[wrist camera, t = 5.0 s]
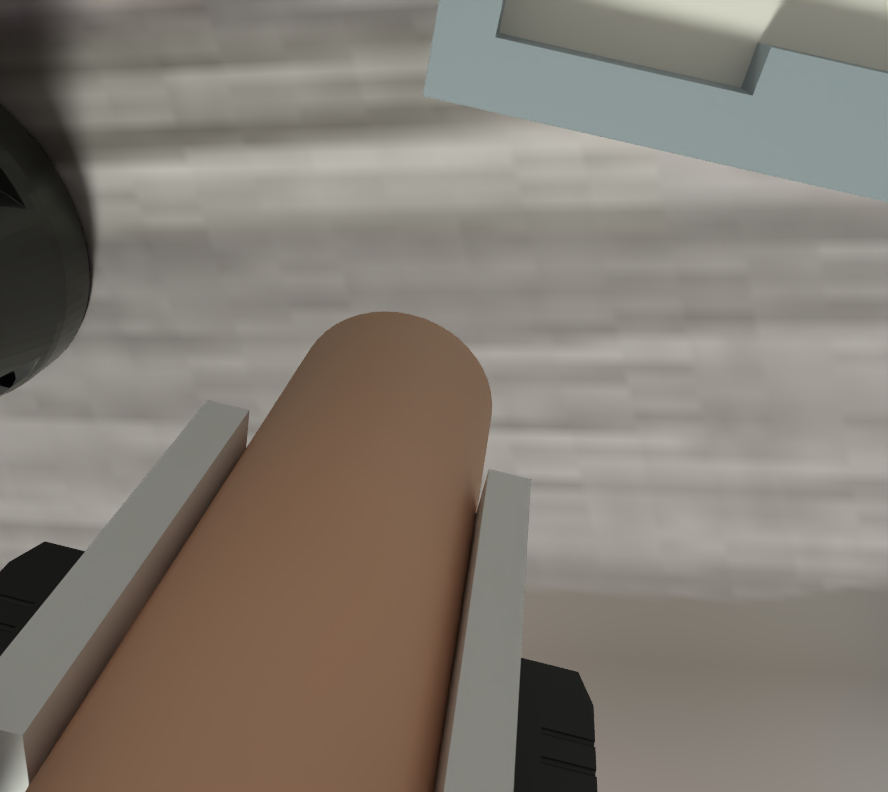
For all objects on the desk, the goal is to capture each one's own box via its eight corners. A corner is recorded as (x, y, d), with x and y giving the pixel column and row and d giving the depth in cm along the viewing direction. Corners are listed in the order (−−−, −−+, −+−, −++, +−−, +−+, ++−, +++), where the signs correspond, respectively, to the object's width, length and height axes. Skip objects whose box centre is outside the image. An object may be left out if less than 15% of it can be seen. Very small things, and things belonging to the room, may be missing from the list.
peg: (290, 457, 18) (-138, 1243, 7) (310, 290, 16) (-274, 1056, 5) (468, 499, 18) (322, 1364, 7) (513, 339, 16) (402, 1233, 5)
